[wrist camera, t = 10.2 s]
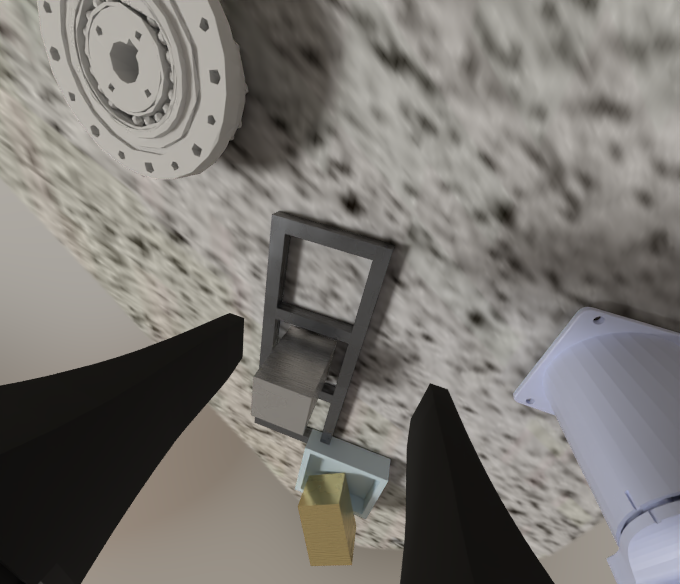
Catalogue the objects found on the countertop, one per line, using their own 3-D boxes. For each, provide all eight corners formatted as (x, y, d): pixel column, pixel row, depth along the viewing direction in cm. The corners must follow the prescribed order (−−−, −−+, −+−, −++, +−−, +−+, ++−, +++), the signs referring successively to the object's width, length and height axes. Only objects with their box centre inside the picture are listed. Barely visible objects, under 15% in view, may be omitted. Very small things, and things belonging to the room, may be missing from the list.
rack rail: (394, 245, 18) (393, 250, 17) (330, 442, 29) (327, 451, 28) (278, 211, 19) (272, 214, 18) (259, 414, 30) (254, 422, 29)
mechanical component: (153, 216, 16) (4, 46, 14) (204, 203, 20) (94, 67, 18) (265, 83, 12) (72, -207, 9) (304, 98, 15) (174, -105, 13)
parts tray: (390, 459, 28) (388, 481, 26) (369, 498, 32) (365, 519, 30) (312, 428, 29) (305, 447, 27) (301, 470, 33) (294, 489, 31)
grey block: (337, 340, 23) (311, 398, 18) (327, 375, 25) (302, 435, 20) (291, 324, 23) (253, 376, 18) (286, 359, 25) (250, 415, 20)
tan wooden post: (339, 503, 26) (351, 564, 26) (345, 472, 30) (356, 526, 30) (297, 506, 26) (310, 566, 27) (309, 475, 30) (320, 527, 31)
